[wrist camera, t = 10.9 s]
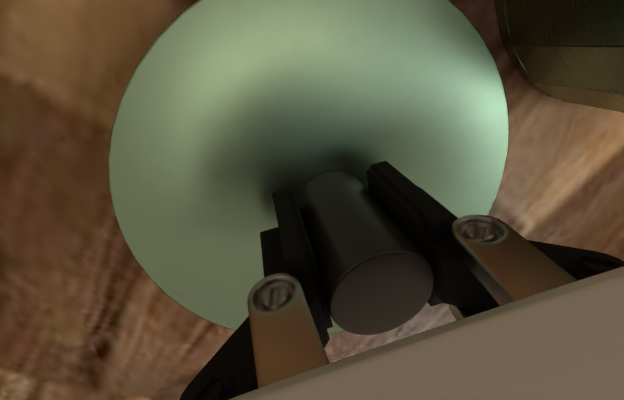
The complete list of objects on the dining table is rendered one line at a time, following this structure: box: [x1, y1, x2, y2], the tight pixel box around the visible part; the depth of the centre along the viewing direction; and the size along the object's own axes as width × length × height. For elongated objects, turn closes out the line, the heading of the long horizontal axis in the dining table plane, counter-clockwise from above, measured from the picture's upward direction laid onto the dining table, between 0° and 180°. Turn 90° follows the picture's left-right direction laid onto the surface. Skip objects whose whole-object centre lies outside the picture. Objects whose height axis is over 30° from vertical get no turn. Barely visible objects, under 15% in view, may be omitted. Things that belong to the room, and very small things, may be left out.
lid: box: [108, 0, 509, 335], centre depth 10 cm, size 15×15×6 cm
